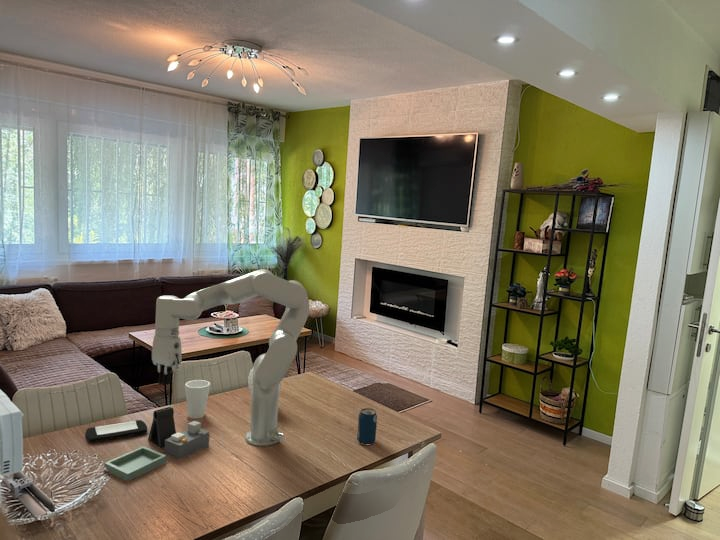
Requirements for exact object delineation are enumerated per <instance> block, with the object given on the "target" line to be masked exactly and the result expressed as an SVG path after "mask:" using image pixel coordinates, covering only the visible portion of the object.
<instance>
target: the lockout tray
mask: <svg viewBox="0 0 720 540" xmlns="http://www.w3.org/2000/svg"><path fill="white" fill-rule="evenodd" d="M166 463H167V455H166V454H164V453H161V452H159V451H157V450H154V449H152V448H149V447H147V446H145V445H143V446H140V447H138V448H136V449H133V450H130V451H129V452H127V453H124V454H122V455H120V456H118V457H115V458H112V459H110V460H109V461H106V462H104V467H106V468H107V470H108V471H109V472H110V473H109V472H108V473H109V474H111V475H113V476H116V477H117V478H119V479H121V480H124V481H125V482H130V481H132V480H134V479H136V478H138V477H140V476H142V475H144V474H146V473H149V472H150V471H152V470H155V469H156V468H158V467H161V466H162V465H164V464H166ZM104 467H103V468H104Z"/></svg>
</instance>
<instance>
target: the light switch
mask: <svg viewBox="0 0 720 540" xmlns="http://www.w3.org/2000/svg"><path fill="white" fill-rule="evenodd" d="M146 433H148V426H147V424H146V422H144V421H142V420H141V419H137V420H129V421H123V422H122V421H121V422H116V423H115V422H114V423H110V424H104V425H103V424H102V425H97V426H93V427H88V428H86V430H85V439H86V440H87V441H89V443H95V442H100V441H108V440H115V439H120V438H121V439H122V438H126V437H131V436H136V435H141V434H146Z"/></svg>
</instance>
